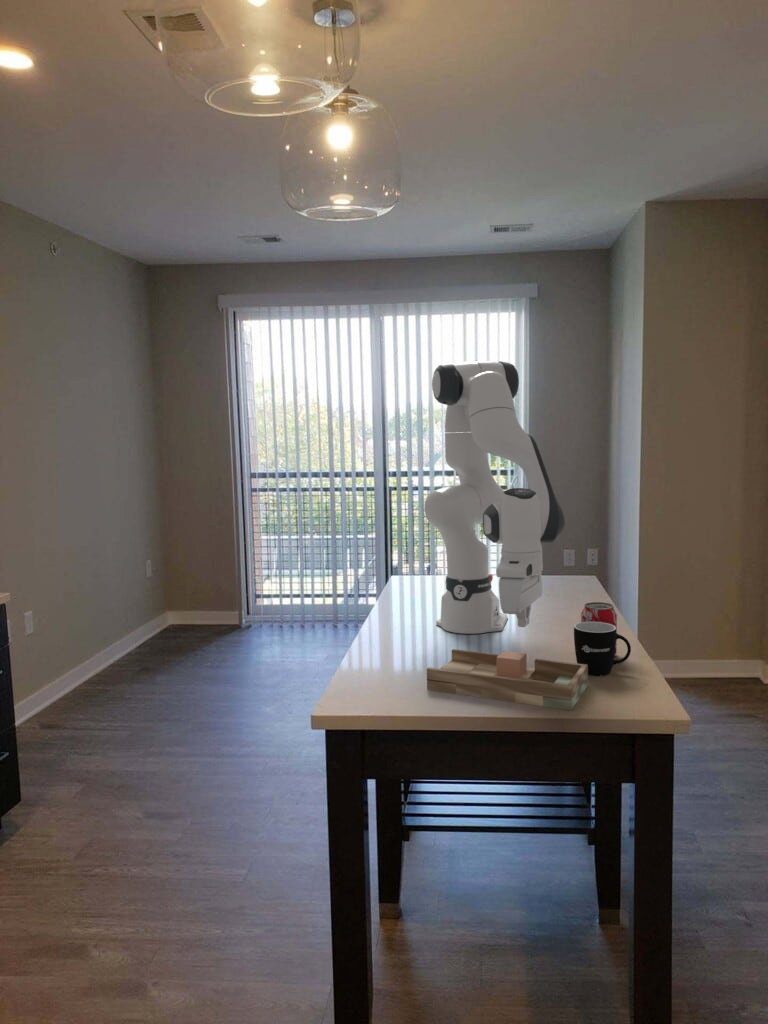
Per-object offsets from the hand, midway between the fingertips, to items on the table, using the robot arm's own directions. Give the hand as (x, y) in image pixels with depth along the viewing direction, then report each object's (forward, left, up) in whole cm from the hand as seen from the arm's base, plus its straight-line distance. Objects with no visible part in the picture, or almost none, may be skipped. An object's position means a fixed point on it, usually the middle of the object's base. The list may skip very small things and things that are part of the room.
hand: (523, 625), depth 165 cm
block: (+8, 0, -9) cm, 11 cm away
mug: (-7, +16, -11) cm, 20 cm away
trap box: (+11, 0, -11) cm, 15 cm away
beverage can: (-19, +13, -11) cm, 25 cm away
